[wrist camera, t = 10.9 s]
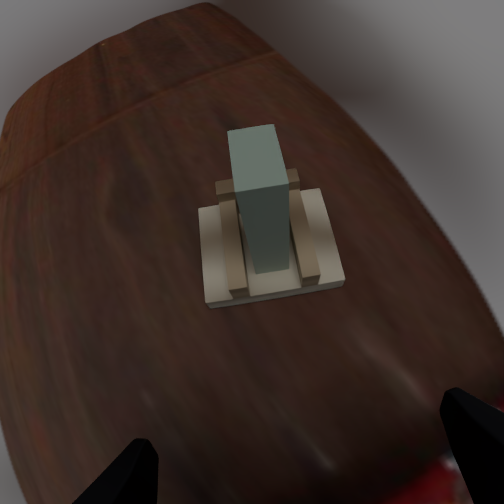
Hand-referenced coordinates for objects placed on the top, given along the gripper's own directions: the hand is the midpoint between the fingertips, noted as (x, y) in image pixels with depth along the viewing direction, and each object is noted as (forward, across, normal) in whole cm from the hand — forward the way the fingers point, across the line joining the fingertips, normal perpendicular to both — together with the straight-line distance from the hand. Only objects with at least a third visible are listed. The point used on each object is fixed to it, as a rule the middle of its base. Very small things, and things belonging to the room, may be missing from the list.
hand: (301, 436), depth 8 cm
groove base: (+18, 0, +1) cm, 18 cm away
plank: (+17, 0, 0) cm, 17 cm away
